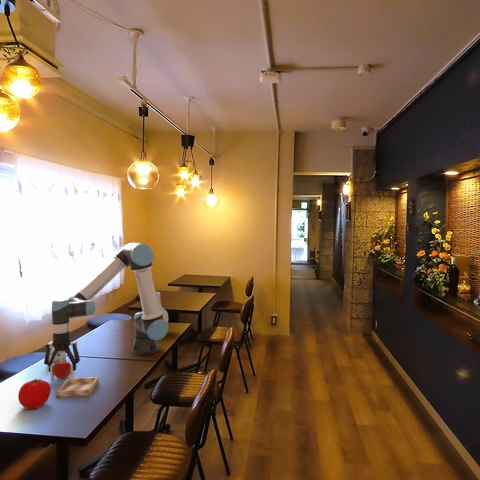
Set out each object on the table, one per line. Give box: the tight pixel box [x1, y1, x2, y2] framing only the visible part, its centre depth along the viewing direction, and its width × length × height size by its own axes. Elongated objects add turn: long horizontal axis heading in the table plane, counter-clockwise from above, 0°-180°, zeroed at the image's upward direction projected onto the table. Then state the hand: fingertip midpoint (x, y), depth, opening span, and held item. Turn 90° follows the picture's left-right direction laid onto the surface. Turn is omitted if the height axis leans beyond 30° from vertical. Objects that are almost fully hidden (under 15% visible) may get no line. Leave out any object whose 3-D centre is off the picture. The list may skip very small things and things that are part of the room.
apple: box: [53, 360, 72, 380], centre depth 185 cm, size 8×8×10 cm
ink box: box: [48, 340, 67, 365], centre depth 206 cm, size 9×5×12 cm, turn 168°
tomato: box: [18, 378, 52, 410], centre depth 157 cm, size 12×12×11 cm
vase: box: [155, 291, 169, 324], centre depth 257 cm, size 17×16×28 cm
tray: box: [55, 376, 100, 399], centre depth 171 cm, size 14×14×3 cm
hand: (62, 377), depth 185 cm, fingers open, 9 cm apart
